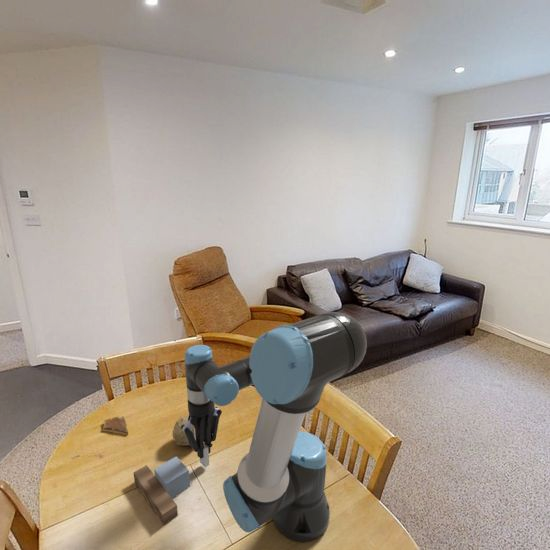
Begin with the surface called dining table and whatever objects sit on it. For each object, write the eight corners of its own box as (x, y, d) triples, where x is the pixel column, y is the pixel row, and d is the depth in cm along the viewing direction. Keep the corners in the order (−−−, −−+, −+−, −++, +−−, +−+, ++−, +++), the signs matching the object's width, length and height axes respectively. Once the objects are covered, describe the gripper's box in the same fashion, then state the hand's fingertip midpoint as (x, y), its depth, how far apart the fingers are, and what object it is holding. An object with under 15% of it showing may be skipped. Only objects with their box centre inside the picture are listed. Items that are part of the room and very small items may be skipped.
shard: (128, 436, 122) (128, 432, 122) (104, 444, 118) (103, 440, 118) (124, 418, 131) (123, 414, 131) (101, 425, 127) (100, 420, 127)
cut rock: (205, 435, 113) (175, 424, 112) (194, 456, 116) (165, 446, 115) (211, 413, 122) (183, 403, 121) (200, 434, 125) (174, 424, 124)
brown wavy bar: (177, 515, 94) (176, 505, 93) (163, 525, 91) (162, 514, 90) (147, 474, 107) (146, 464, 106) (134, 482, 104) (133, 472, 103)
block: (189, 486, 103) (188, 470, 101) (167, 501, 98) (165, 484, 96) (177, 472, 108) (176, 456, 106) (155, 485, 103) (154, 469, 101)
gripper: (211, 382, 109) (214, 446, 116) (173, 401, 101) (179, 468, 107) (226, 393, 104) (229, 458, 111) (188, 413, 96) (193, 483, 102)
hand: (204, 463), depth 109 cm, fingers closed
